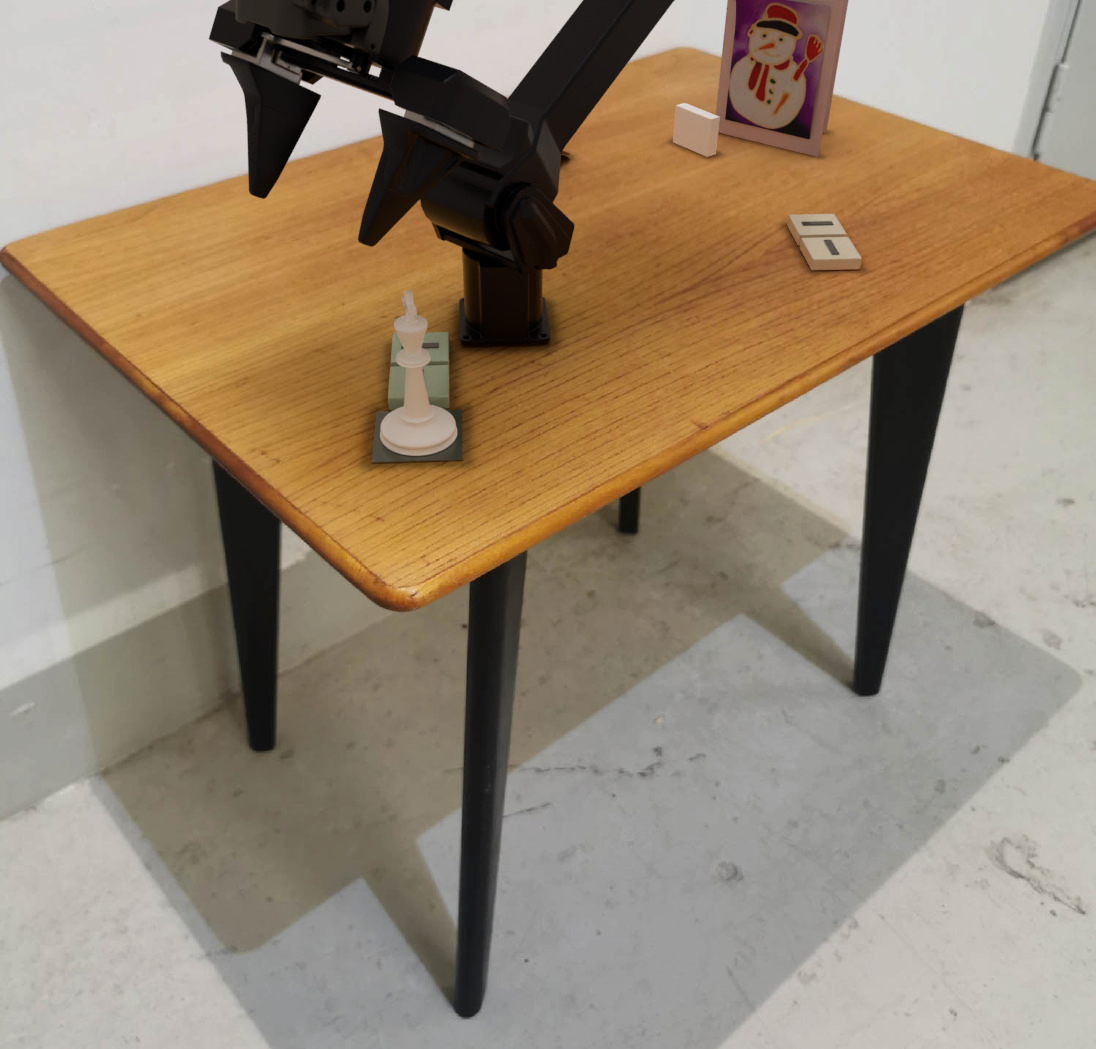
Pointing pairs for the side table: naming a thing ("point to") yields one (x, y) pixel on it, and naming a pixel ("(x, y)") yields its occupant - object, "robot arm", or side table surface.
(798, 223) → the beige domino tile
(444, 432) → the chess piece
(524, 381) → the side table surface
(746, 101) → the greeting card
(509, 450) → the side table surface
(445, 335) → the green and grey panel
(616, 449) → the side table surface
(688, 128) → the eraser
